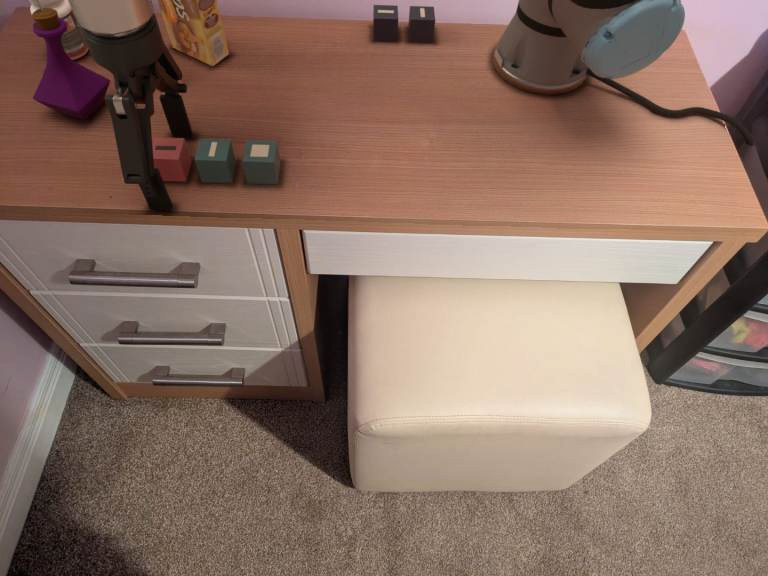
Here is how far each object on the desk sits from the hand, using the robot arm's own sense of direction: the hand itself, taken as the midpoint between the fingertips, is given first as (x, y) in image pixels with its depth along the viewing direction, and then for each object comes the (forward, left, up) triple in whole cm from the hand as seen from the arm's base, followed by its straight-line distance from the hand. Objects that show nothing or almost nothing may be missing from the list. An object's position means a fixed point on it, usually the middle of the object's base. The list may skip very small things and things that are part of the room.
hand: (172, 169), depth 75 cm
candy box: (+4, -27, 0) cm, 27 cm away
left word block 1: (-12, -1, 0) cm, 12 cm away
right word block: (-31, -37, 0) cm, 48 cm away
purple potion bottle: (+17, -11, 0) cm, 20 cm away
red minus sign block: (0, 0, 0) cm, 0 cm away
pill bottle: (+24, -24, 0) cm, 34 cm away
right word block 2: (-25, -36, 0) cm, 44 cm away
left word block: (-6, -1, 0) cm, 6 cm away
